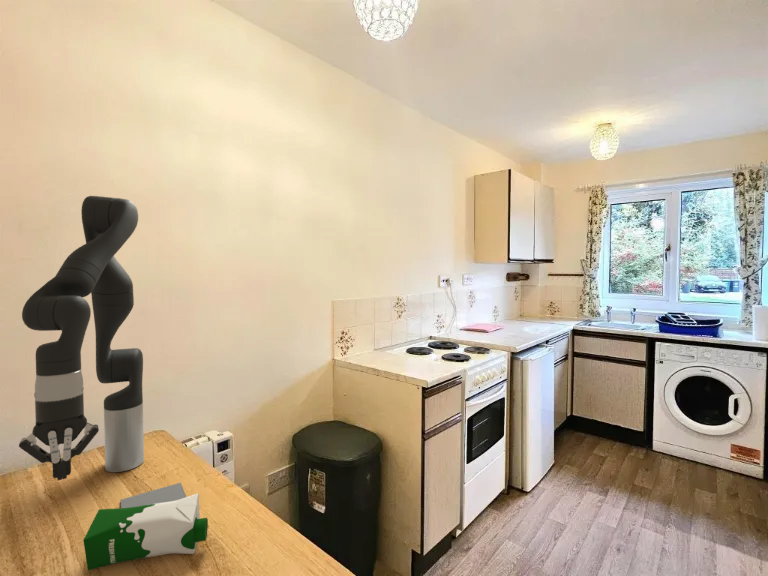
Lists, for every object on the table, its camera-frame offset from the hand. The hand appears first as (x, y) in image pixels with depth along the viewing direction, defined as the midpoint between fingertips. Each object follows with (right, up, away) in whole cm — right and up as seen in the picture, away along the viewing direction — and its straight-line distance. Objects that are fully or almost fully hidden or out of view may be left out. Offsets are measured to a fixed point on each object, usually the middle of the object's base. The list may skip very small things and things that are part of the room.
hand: (62, 477), depth 79 cm
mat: (+14, -13, +10) cm, 21 cm away
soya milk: (+10, -9, -5) cm, 15 cm away
